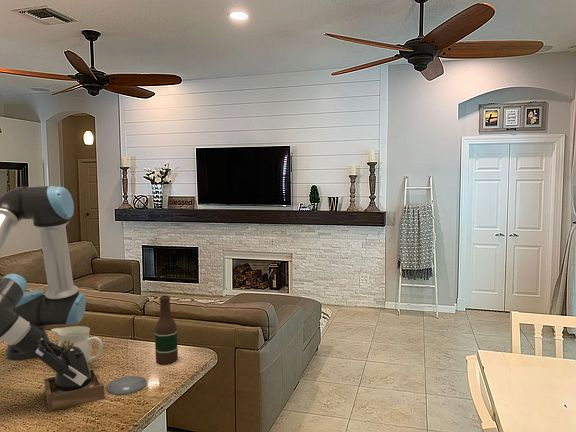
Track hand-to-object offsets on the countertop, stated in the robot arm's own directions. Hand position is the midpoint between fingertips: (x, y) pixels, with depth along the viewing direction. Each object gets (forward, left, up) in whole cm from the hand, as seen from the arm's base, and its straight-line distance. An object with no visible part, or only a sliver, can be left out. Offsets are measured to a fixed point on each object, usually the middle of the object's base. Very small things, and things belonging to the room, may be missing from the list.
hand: (80, 373), depth 141 cm
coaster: (+3, +13, -6) cm, 15 cm away
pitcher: (-22, +2, -6) cm, 23 cm away
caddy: (0, -2, -6) cm, 7 cm away
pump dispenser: (0, -2, -6) cm, 7 cm away
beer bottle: (-10, +30, -6) cm, 32 cm away
